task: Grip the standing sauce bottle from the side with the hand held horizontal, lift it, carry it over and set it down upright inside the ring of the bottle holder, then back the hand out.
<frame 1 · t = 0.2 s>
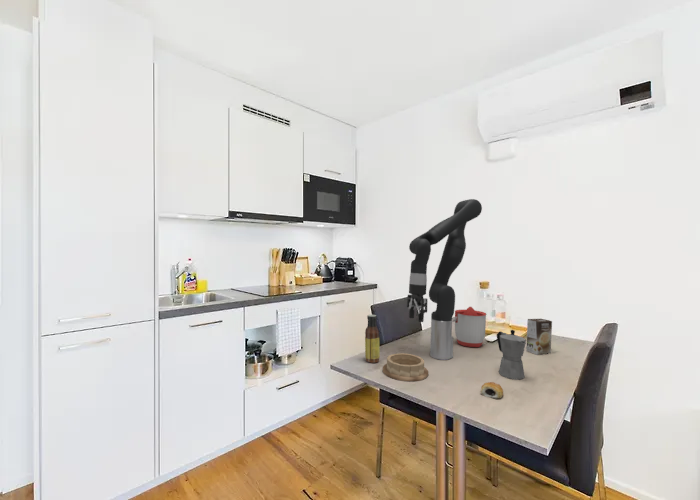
hand: (415, 319, 141), 18 cm above the table, tool pointing down, fingers open, 8 cm apart
bottle holder: (405, 372, 126), on the table
citrus juicer: (467, 344, 167), on the table
pastry: (491, 394, 109), on the table
coffee box: (538, 352, 156), on the table
coffeepot: (509, 374, 127), on the table
sauce bottle: (371, 361, 138), on the table
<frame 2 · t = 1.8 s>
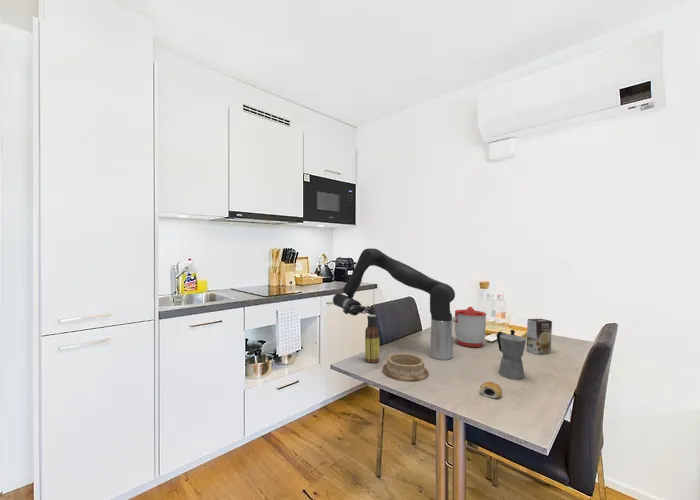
hand: (363, 313, 148), 19 cm above the table, tool horizontal, fingers open, 8 cm apart
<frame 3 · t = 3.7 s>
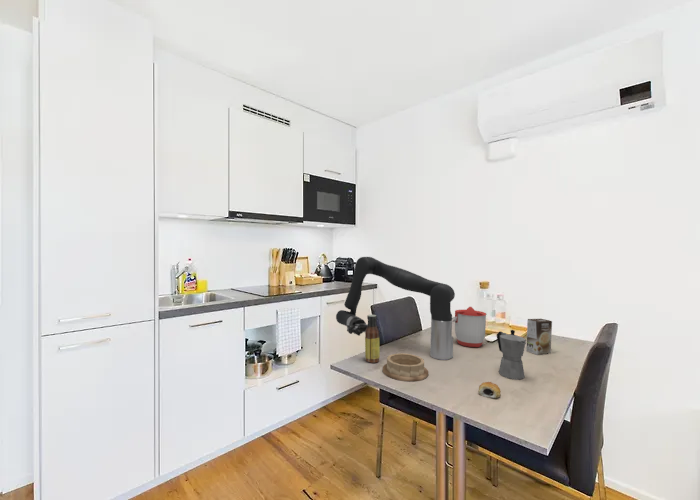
hand: (368, 332, 143), 11 cm above the table, tool horizontal, fingers open, 8 cm apart
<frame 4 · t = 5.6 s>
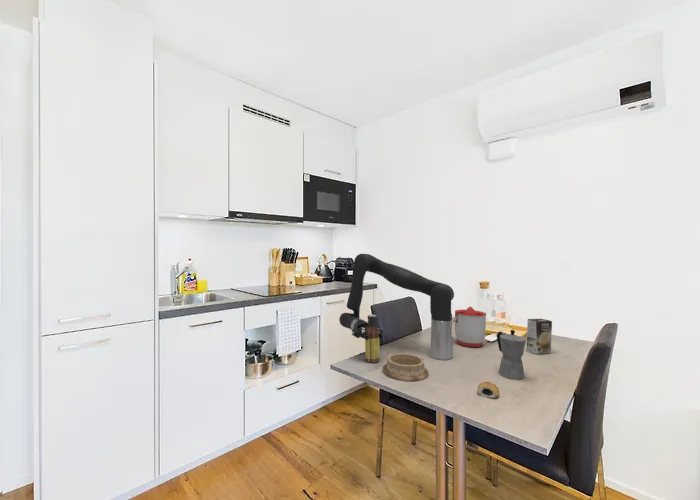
hand: (374, 337, 136), 11 cm above the table, tool horizontal, fingers closed on sauce bottle, 6 cm apart
sauce bottle: (371, 361, 138), on the table, touching gripper
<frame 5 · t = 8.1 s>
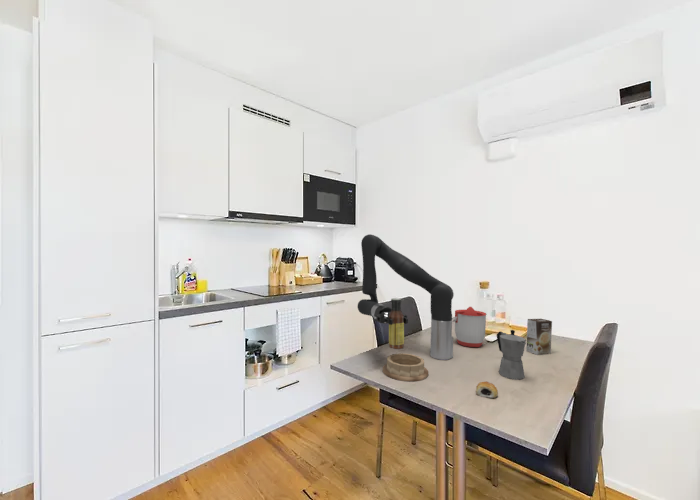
hand: (399, 321, 127), 20 cm above the table, tool horizontal, fingers closed on sauce bottle, 6 cm apart
sauce bottle: (395, 347, 130), point 9 cm above the table, touching gripper
when the fingers open (14 cm above the table, at t = 10.5 s): sauce bottle drops 2 cm, resting on bottle holder.
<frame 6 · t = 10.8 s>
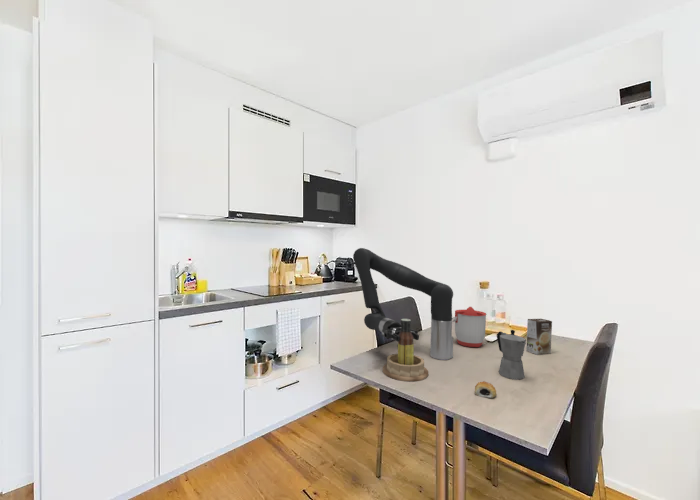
hand: (408, 338, 124), 14 cm above the table, tool horizontal, fingers open, 8 cm apart
sauce bottle: (404, 369, 126), point 1 cm above the table, touching bottle holder
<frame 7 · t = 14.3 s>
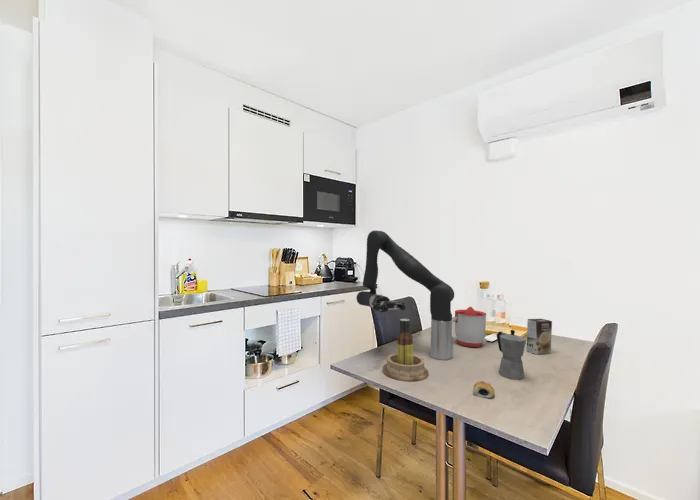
hand: (395, 308, 136), 24 cm above the table, tool horizontal, fingers open, 8 cm apart
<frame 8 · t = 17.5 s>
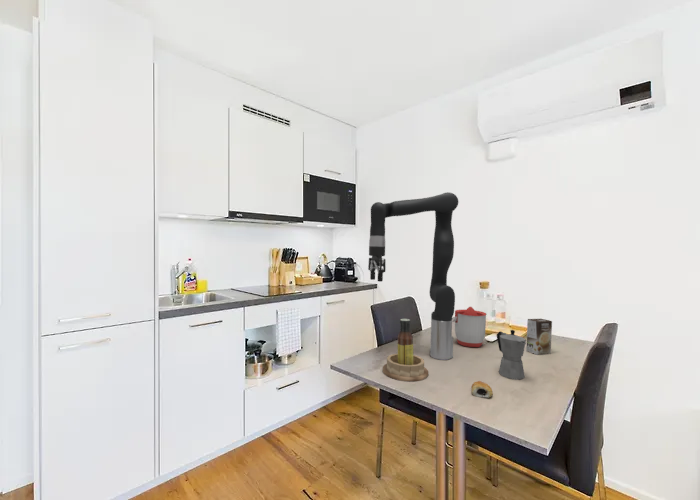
hand: (376, 280, 148), 34 cm above the table, tool pointing down, fingers open, 8 cm apart
at the end: sauce bottle inside the target area on the bottle holder (0.2 cm from its centre), point 0.8 cm above the bottle holder's base; sauce bottle tilted 0°; the gripper is holding nothing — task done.
